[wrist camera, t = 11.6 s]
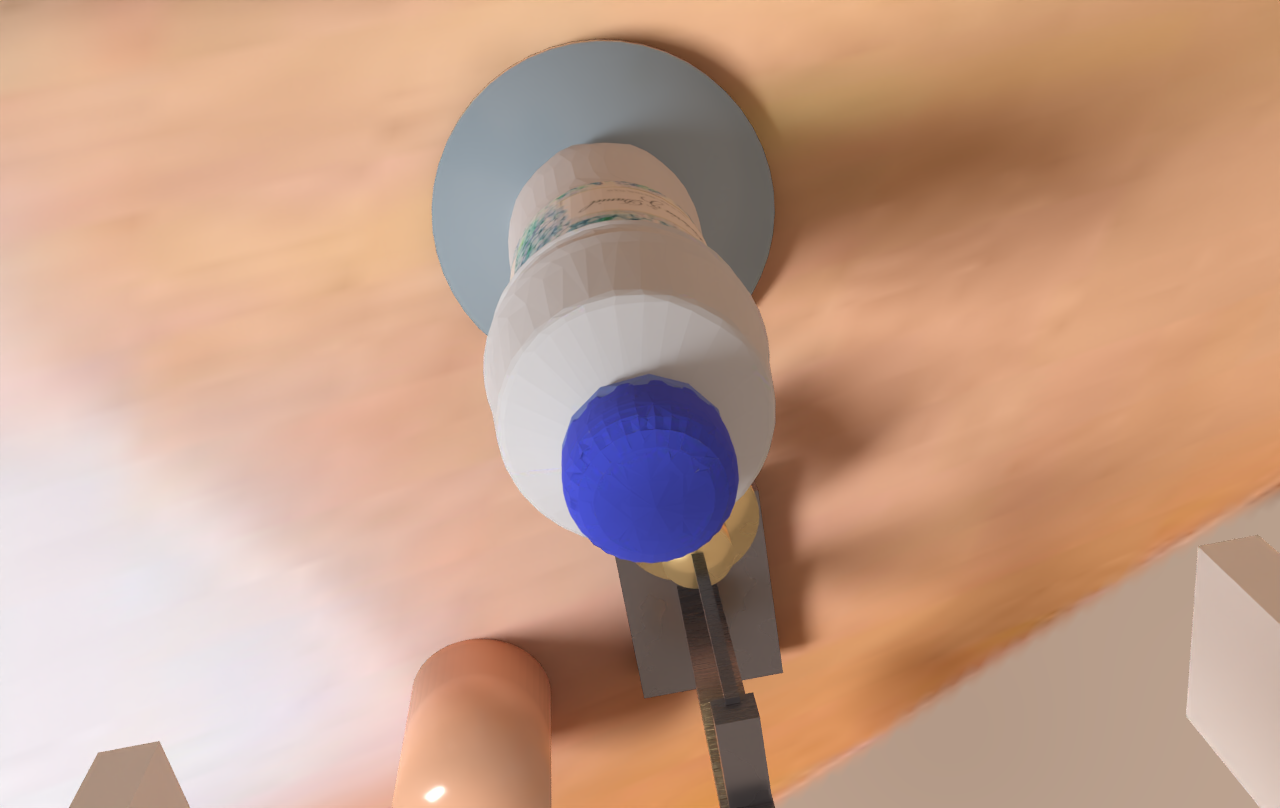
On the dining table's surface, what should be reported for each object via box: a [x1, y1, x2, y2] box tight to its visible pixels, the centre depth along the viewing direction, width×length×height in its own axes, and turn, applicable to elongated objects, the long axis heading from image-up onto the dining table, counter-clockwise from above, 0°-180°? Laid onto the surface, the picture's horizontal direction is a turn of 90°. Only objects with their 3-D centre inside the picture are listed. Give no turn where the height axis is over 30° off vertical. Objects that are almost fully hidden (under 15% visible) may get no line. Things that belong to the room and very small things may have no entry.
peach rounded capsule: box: [392, 639, 551, 808], centre depth 43 cm, size 6×6×7 cm
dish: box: [432, 39, 775, 336], centre depth 38 cm, size 12×12×1 cm
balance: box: [615, 481, 783, 808], centre depth 37 cm, size 17×6×18 cm, turn 9°
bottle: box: [484, 143, 775, 563], centre depth 28 cm, size 7×7×20 cm
